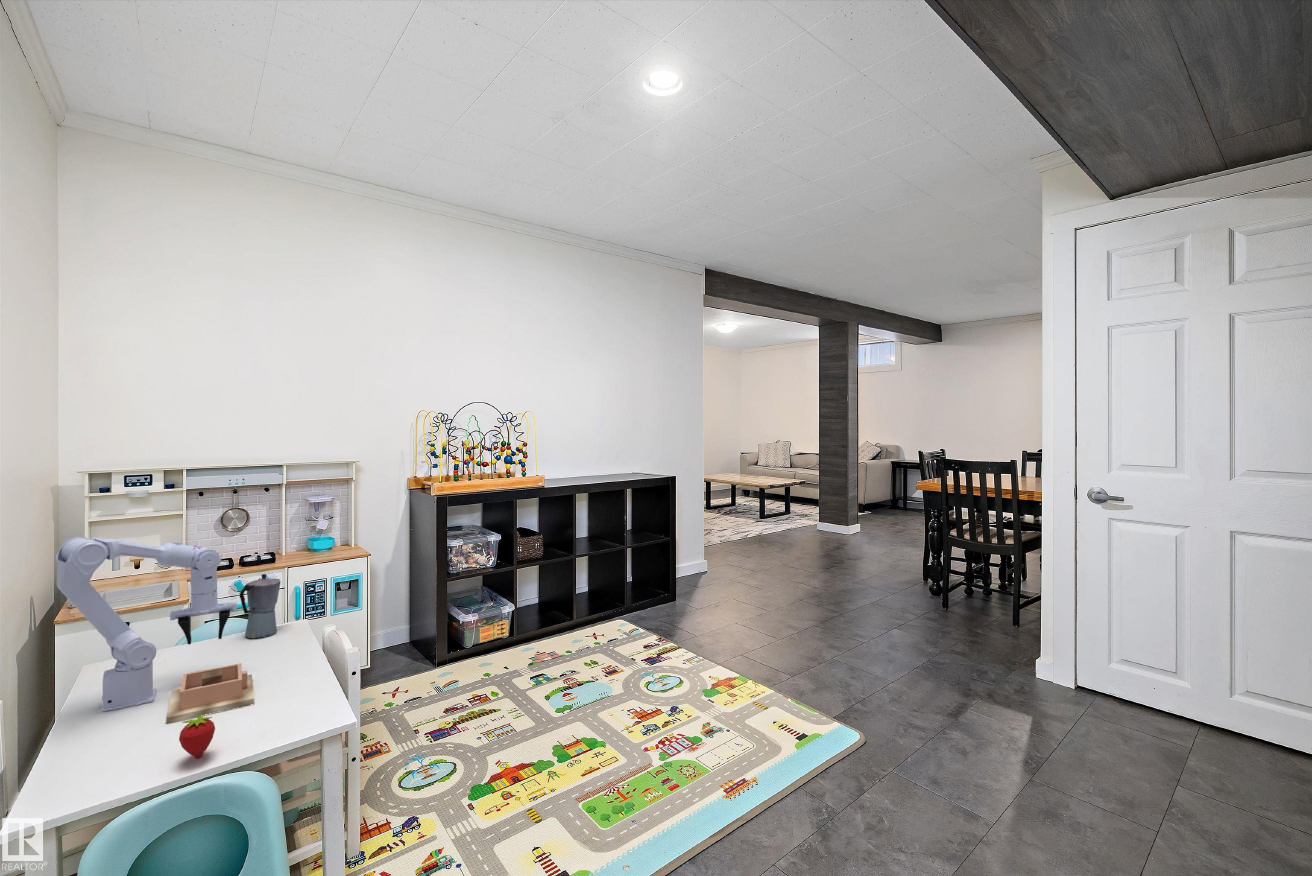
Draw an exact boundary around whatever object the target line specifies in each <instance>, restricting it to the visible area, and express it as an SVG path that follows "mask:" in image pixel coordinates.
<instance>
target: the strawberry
mask: <svg viewBox="0 0 1312 876" xmlns="http://www.w3.org/2000/svg"><path fill="white" fill-rule="evenodd" d="M194 713H195V712H194ZM195 714H196V713H195ZM197 715H198V714H197ZM204 716H205V715H202V716H200V717H199V716H198V717H196V719H187V720H182V721H180V722H181V723H183V724H185V723H186V725H185V726H184V727H183V728H182V730H181V731H180V732H179V738H178V740H179V743H180V746H181V748H182V749H183V750H184V751H186V753H188V754H189V755H191V756H193V757H194V759H201V757H202V756H203V755H204V754H205V752H206V750H207V749H208V747H209V746H210V744H211V742H212V740H213V738H214V735H215V731H216V725H215V723H214V721H213V720H211V719H212V718H213V716H210V717H207V716H206V717H204Z"/></svg>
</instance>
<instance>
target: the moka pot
mask: <svg viewBox="0 0 1312 876" xmlns="http://www.w3.org/2000/svg"><path fill="white" fill-rule="evenodd" d="M260 576H261V578H260V579H257V580H256V579H255V580H252V581H249V582H247V583H246V585H244V586H243V587H242V589H241V591H240V592H239V599H240V602H241V606H242V611H243V613H244V614H245V615H246V614H248V619H247V624H246V629H245V632H244V637H245V638H249V639H256V638H257V639H259V638H266V637H270V636H273V635H275V634H277V630H278V629H277V622H276V621H277V620H276V610H275V609H276V605H277V603H278V597H279V592H280V586H281V579H280V578H267V576H268V575H267V574H265V573H263V574H261V575H260ZM245 592H246V597H247V606H248V607H249V609H248V608H247V606H246V598H245Z"/></svg>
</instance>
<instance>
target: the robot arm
mask: <svg viewBox="0 0 1312 876" xmlns="http://www.w3.org/2000/svg"><path fill="white" fill-rule="evenodd" d="M92 539H93V540H92ZM120 556H125V557H136V558H145V559H153V560H154V559H155V560H156V562H157V563H158V564H159V565H161V566H167V567H169V566H170V567H176V568H185V569H188V568H190V607H188V608H183V609H178V610H173V611H172V610H171V611H170V613H169V619H170V620H169V621H175V620H177V624H178V626H179V627H180V628H181V630H182V631H183V634H184V636H185V638H186V639H185V640H186V641H187V645H191V644H192V634H191V633H192V631H191V617H197V616H198V617H199V616H205V615H211V614H218V634H217V637H218V640H221V639H223V632H224V629H225V626H226V624H227V622H228V620H229V618H230V615H231V612H235V611H236V612H237V610H238V602H237V601H233V602H224V603H218V569H217V568H218V567H219V566H220V564H221V561H222V557H221V556H220V554H219V553H218V552H217V551H216V550H213V549H212V548H211V549H210V548H207V547H202V546H200V545H197V544H195V545H194V546H192V545H185V544H182V543H181V541H172V542H166V543H164V544H162V545H160V546H157V545H151V544H145V543H139V542H135V541H134V542H133V541H127V540H122V539H116V538H104V537H103V538H101V537H91V539H90V538H88V537H85V536H76V537H72V538H69V539H68V540H66V541H65V542H64V543H63V544H62V545H61V546H60V547H59V550H58V552H57V553H56V555H55V561H56V580H55V581H56V582H55V583H56V587H57V589H58V590H59V591H60V592H61V593H62V594H63V595H64V597H66V598H67V600H69V602H70V603H71V604H72V605H73V606H74V607H75V608H76V609H77V610H78V611H79V612H80V613H81V615H82V616H83V617H84V618H85V619H86V620H87V621H88V623H90V624H91V625H92V627H94V628H95V630H97V632H98V633H99V634H100V635H101V636H102V637H103V638H104V639H105V641H106V644H107V645H108V646H109V647H110V653H111V657H112V658H113V659H114V660H116V663H115V665H114V668H111V669H106V670H104V671H103V676H102V696H101V697H102V698H101V699H102V710H101V711H102V712H108V711H113V710H119V709H123V708H128V707H133V706H137V705H142V704H146V703H152V702H154V700H155V696H156V693H157V688H155V687H154V676H153V675H154V672H153V671H154V668H153V666H154V663H153V662H154V661H153V660H154V659H155V657H156V655H157V647H156V645H155V644H153V643H152V642H150V641H146V640H143V638H142V637H141V636H140V635H138V634H137V633H136V632H135V631H133V629H131V627H130V626H129V625H128V624H127V623H126V622H125V620H123V619H122V617H121V616H120V615H119V614H118V613H117V612H116V611H115V609H114V608H113V607H112V606H111V605H110V604H109V603H108V602H107V600H105V598H104V597H103V596H102V595H101V594H100V593H99V592H98V591H97V589H96V588H95V587H94V586H93V585H92V584H91V582H90V581H91V579H92V576H94V572H95V571H96V570H97V569H99V567H100V566H101V565H102V564H103V563H104V562H105V561H106V560H108V561H111V560H113V559H115V558H117V557H120Z"/></svg>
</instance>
